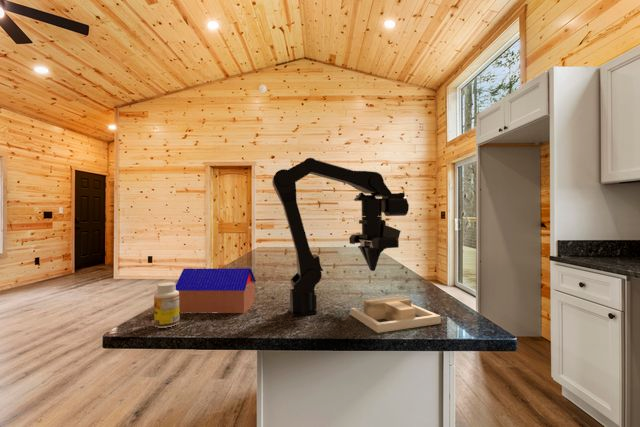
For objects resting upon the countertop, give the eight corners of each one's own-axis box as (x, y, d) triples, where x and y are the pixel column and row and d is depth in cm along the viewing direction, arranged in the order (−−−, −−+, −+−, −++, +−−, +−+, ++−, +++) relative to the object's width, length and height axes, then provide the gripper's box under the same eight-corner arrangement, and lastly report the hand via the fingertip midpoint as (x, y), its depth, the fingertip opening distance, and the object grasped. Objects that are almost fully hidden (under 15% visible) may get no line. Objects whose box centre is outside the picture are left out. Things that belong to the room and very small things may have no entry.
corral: (377, 332, 72) (377, 324, 72) (350, 314, 85) (350, 308, 85) (440, 323, 78) (440, 315, 78) (406, 307, 91) (406, 301, 91)
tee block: (363, 315, 84) (363, 300, 84) (402, 310, 88) (402, 296, 88) (386, 329, 74) (386, 312, 74) (429, 323, 78) (428, 306, 78)
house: (244, 315, 87) (244, 272, 87) (173, 314, 88) (173, 272, 88) (256, 303, 99) (255, 265, 99) (193, 302, 100) (192, 265, 100)
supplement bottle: (155, 323, 80) (154, 282, 80) (179, 320, 82) (179, 280, 82) (153, 331, 75) (152, 287, 75) (179, 327, 77) (178, 284, 77)
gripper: (415, 215, 86) (416, 273, 86) (379, 216, 104) (380, 264, 103) (378, 216, 82) (379, 277, 82) (348, 216, 100) (349, 266, 100)
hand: (372, 270), depth 92 cm, fingers closed
